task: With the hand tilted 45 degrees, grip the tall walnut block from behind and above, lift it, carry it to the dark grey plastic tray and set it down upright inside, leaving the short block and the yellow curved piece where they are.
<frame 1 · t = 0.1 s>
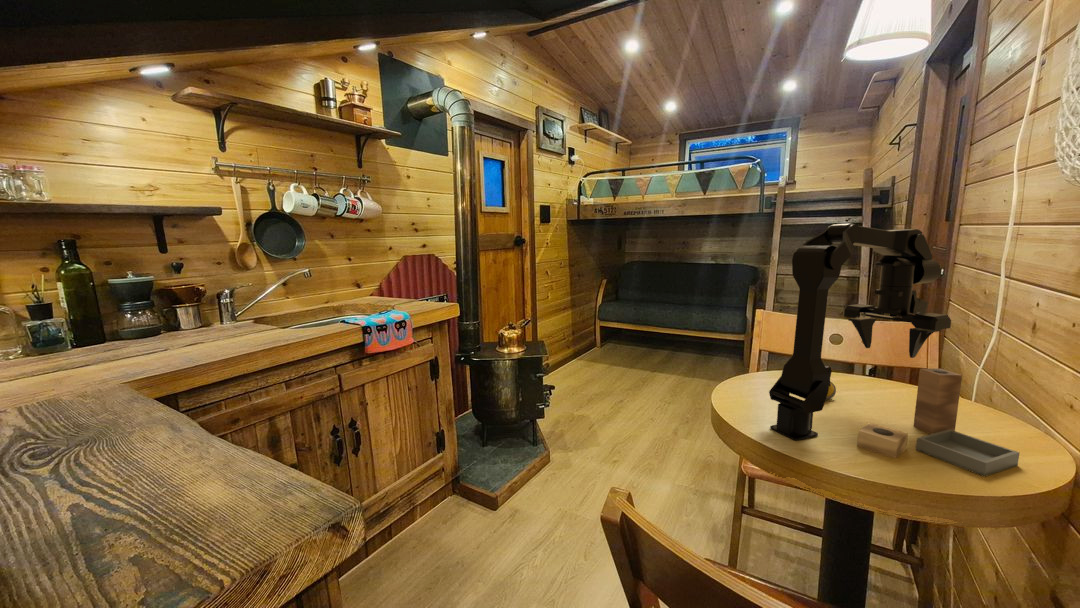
hand: (889, 352, 95), 15 cm above the table, fingers open, 9 cm apart
tall block: (933, 430, 88), on the table
short block: (881, 448, 81), on the table
tray: (964, 457, 77), on the table
yellow curved piece: (824, 399, 107), on the table
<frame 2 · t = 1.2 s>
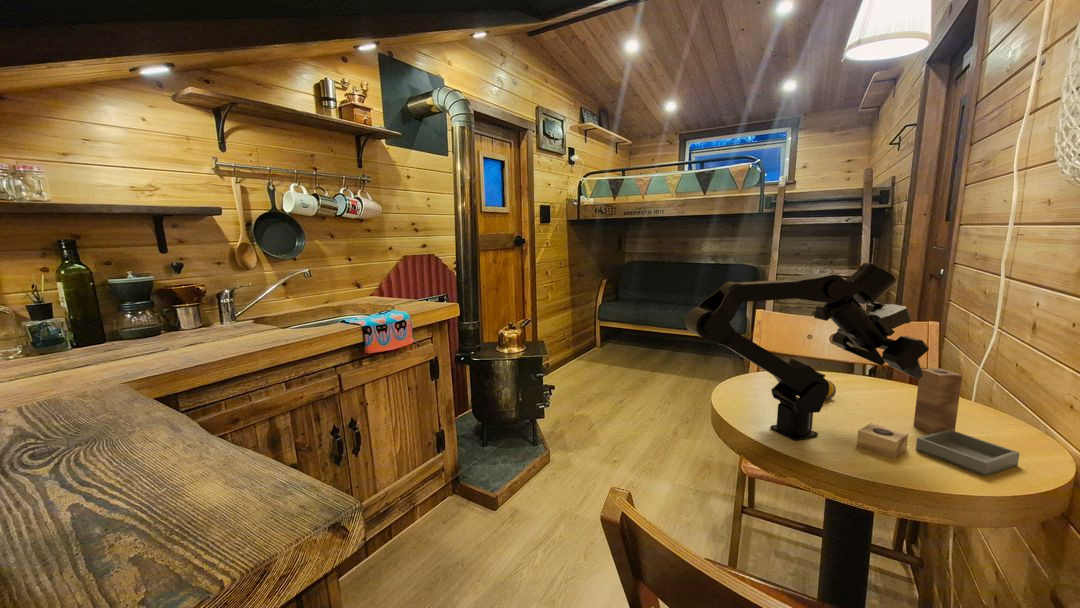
hand: (900, 370, 87), 13 cm above the table, fingers open, 9 cm apart
nothing on the table moved.
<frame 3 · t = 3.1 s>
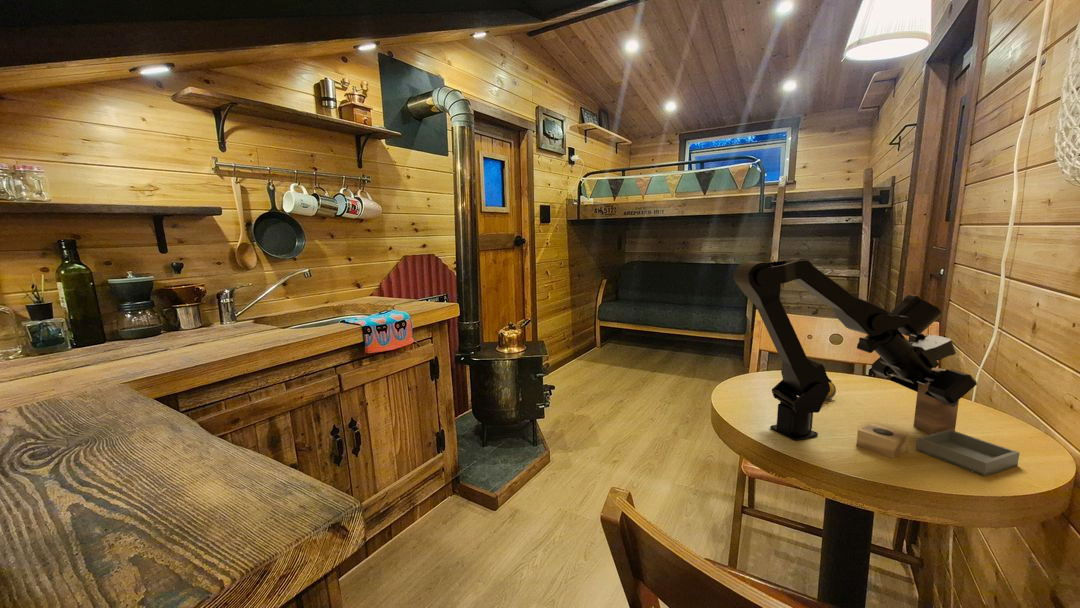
hand: (943, 400, 87), 7 cm above the table, fingers closed on tall block, 4 cm apart
tall block: (933, 430, 88), on the table, touching gripper
everything else where it was.
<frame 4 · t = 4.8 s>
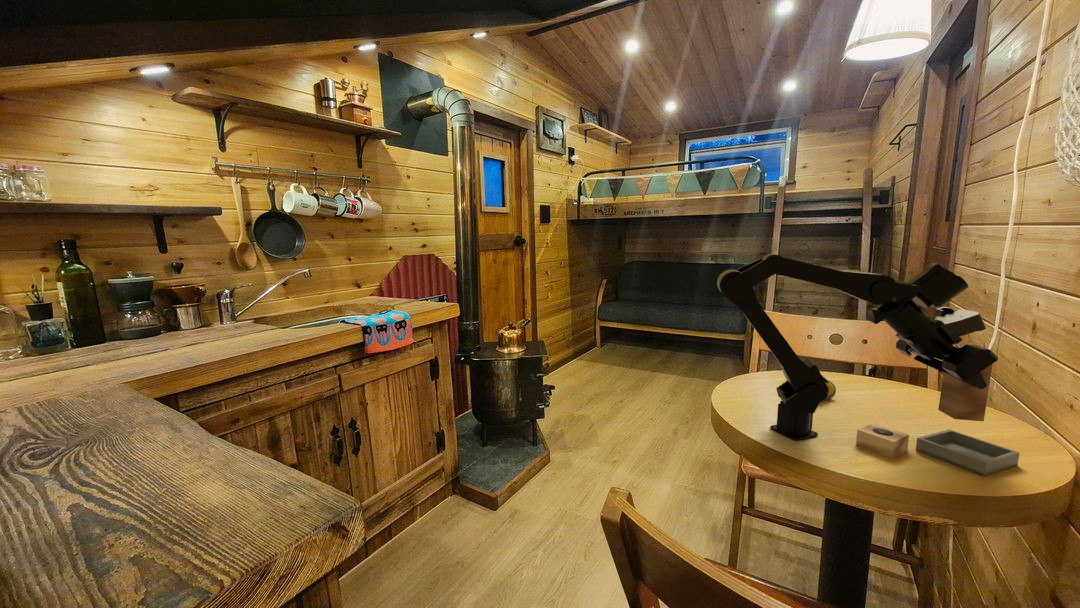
hand: (973, 383, 78), 13 cm above the table, fingers closed on tall block, 4 cm apart
tall block: (960, 415, 80), point 7 cm above the table, touching gripper
everything else where it was.
when the fingers open (8 cm above the table, at t = 6.4 s): tall block stays where it is, resting on tray.
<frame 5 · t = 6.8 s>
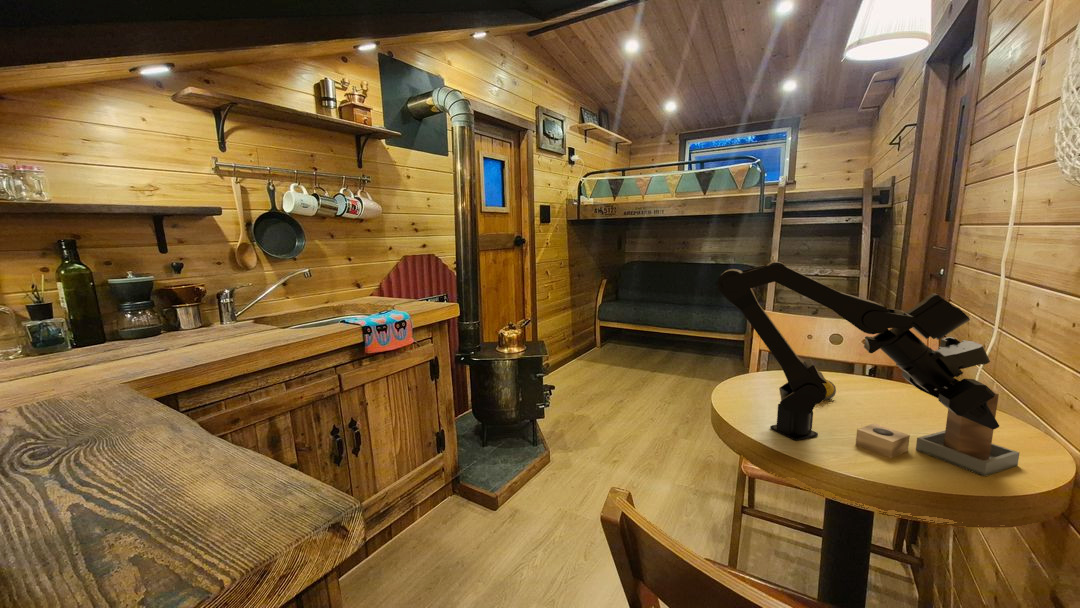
hand: (980, 417, 75), 8 cm above the table, fingers open, 9 cm apart
tall block: (965, 454, 77), point 1 cm above the table, touching tray
everything else where it was.
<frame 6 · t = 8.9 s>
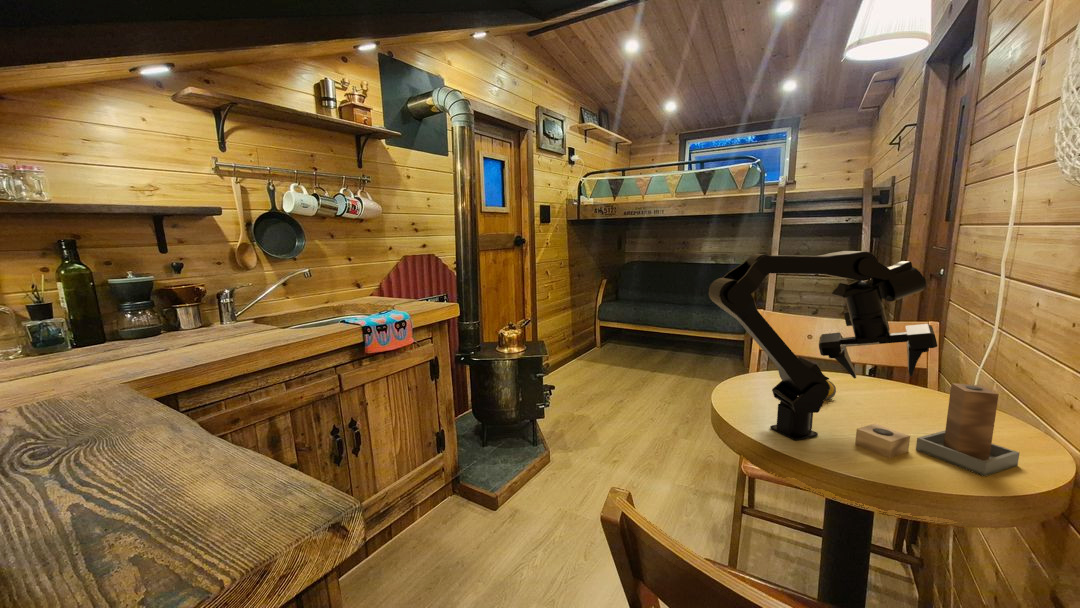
hand: (882, 376, 87), 12 cm above the table, fingers open, 9 cm apart
nothing on the table moved.
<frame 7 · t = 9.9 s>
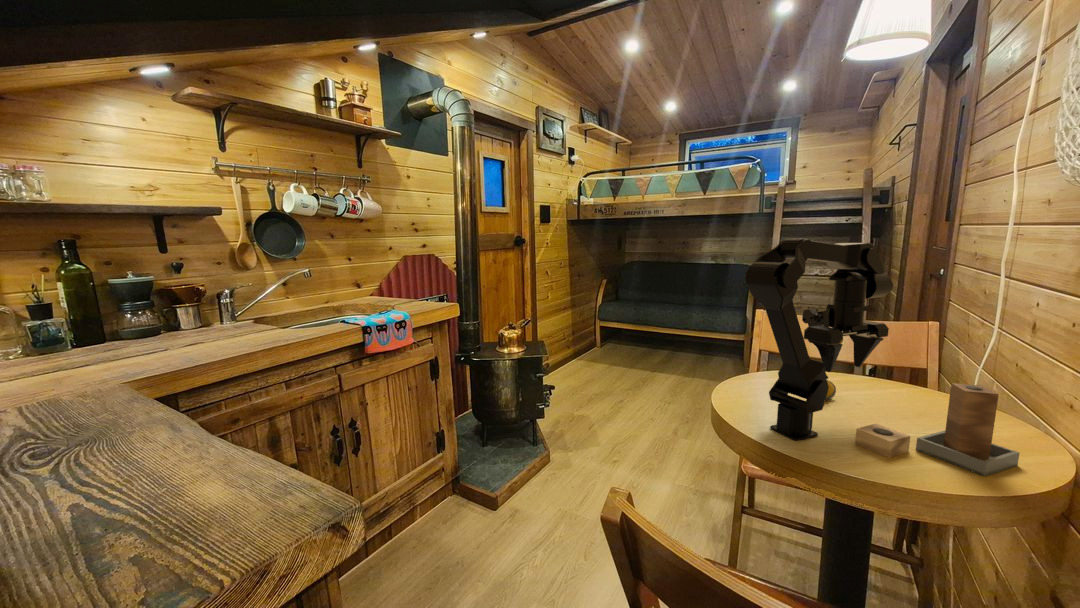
hand: (842, 369, 93), 12 cm above the table, fingers open, 9 cm apart
nothing on the table moved.
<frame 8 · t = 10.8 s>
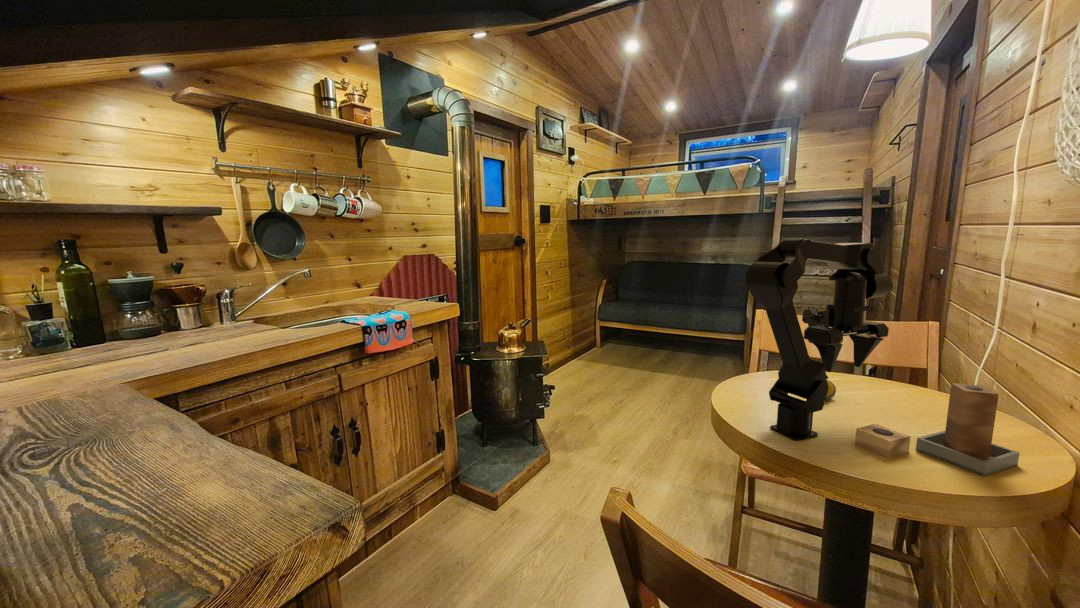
hand: (842, 369, 93), 12 cm above the table, fingers open, 9 cm apart
nothing on the table moved.
at the end: tall block inside the target area on the tray (0.0 cm from its centre), point 0.5 cm above the tray's base; tall block tilted 0°; the gripper is holding nothing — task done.
